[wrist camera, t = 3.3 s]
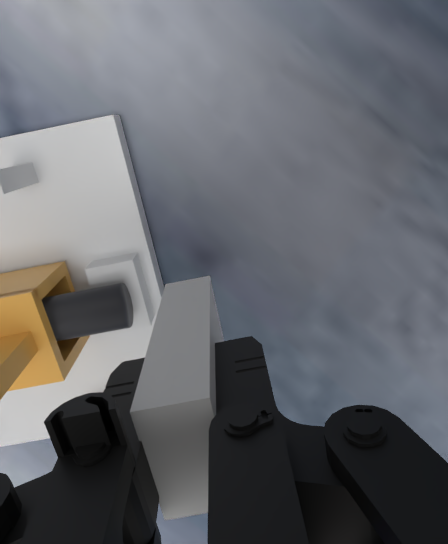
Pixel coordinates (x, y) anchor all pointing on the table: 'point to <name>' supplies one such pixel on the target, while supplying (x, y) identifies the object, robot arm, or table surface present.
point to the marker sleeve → (33, 329)
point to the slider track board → (78, 256)
